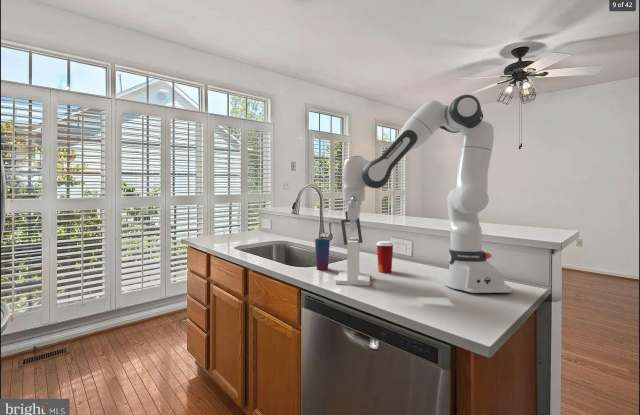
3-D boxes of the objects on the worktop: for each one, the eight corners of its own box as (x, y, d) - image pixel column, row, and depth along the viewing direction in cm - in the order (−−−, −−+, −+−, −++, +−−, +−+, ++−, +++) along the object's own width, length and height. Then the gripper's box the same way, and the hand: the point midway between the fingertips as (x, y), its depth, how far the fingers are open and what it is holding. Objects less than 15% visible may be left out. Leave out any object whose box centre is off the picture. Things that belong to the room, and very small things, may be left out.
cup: (328, 273, 145) (328, 240, 145) (313, 273, 146) (313, 239, 146) (330, 270, 152) (330, 238, 152) (316, 270, 153) (316, 238, 153)
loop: (362, 241, 134) (358, 209, 134) (362, 242, 130) (357, 209, 130) (344, 243, 135) (340, 212, 135) (343, 244, 131) (339, 212, 132)
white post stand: (369, 276, 140) (370, 237, 140) (369, 285, 124) (369, 242, 124) (339, 275, 142) (339, 237, 142) (335, 284, 126) (335, 241, 126)
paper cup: (395, 272, 148) (395, 241, 148) (390, 275, 141) (390, 243, 141) (379, 270, 152) (379, 240, 152) (373, 273, 145) (373, 242, 145)
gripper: (360, 195, 122) (360, 232, 122) (362, 197, 142) (362, 228, 142) (343, 195, 123) (343, 232, 123) (347, 197, 143) (347, 228, 143)
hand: (353, 230), depth 133 cm, fingers open, 4 cm apart
